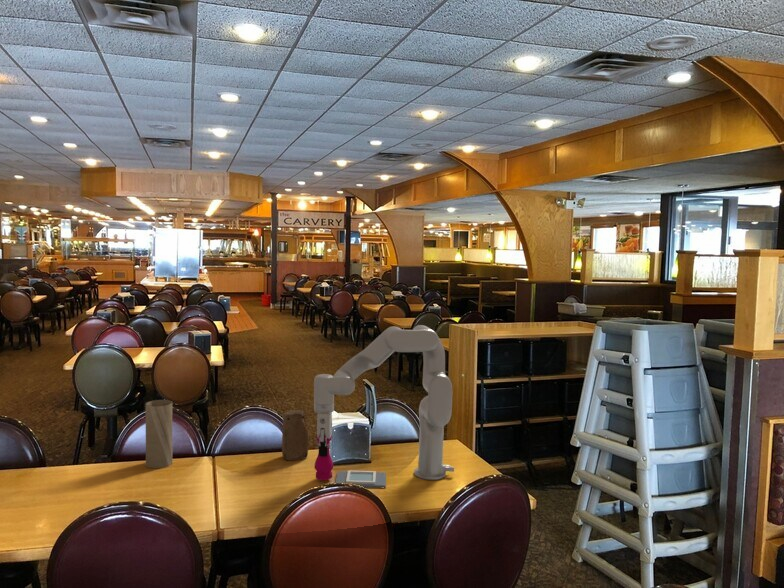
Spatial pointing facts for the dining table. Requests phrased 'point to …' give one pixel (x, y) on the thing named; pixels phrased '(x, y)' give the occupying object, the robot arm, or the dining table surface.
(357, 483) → the grey panel
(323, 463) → the pepper mill
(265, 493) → the dining table surface
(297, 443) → the block
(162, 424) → the tube
